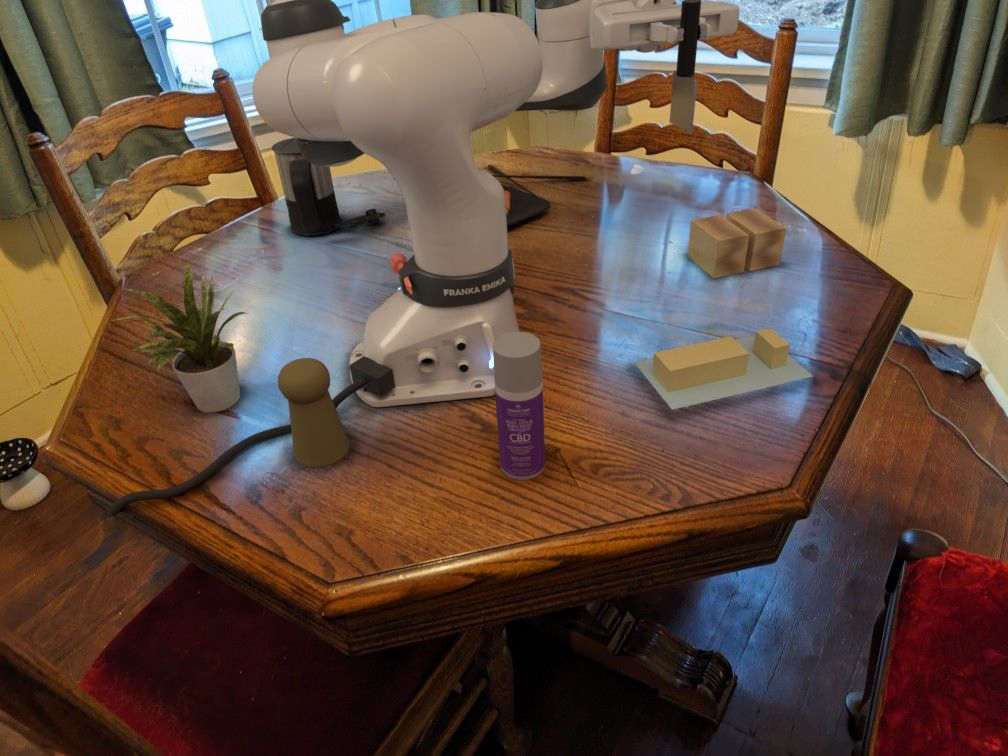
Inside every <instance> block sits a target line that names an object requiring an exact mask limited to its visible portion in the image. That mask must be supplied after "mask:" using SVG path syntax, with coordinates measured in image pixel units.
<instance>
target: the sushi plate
mask: <svg viewBox="0 0 1008 756" xmlns="http://www.w3.org/2000/svg"><path fill="white" fill-rule="evenodd" d="M487 168H488V169H489V170H491V171H493V172H494V173H495V174H491V175H492V176H494V177H495V178H504V179H506V180H507V181H508V182H510V183H513V184H514V185H516V186H517V187H519V188H521V189H522V190H520V189H517V188H514V187H512V186H510V185H506V184H503V183H500V184H501V185H502V187H503V189H504V192H505V200H506V219H507V227H511V226H513V225H517V224H518V223H521V222H523V221H526V220H529V219H530V218H533V217H535V216H537V215H539V214H542V213H544V212H546V211H547V210H549V209H550V208H551V207H552V203H551V202H550V201H549V200H547V199H545V198H543V197H541V196H538V195H537V194H536V193H534V192H532V191H531V190H529V189H528V188H526V187H524V186H523V185H521V184H520V183H519V182H517V181H515V180H514V179H541V180H567V181H568V180H569V181H570V180H571V181H585V180H586V176H585V175H584V176H583V175H516V174H512V175H511V174H506V173H503V172H502V171H501V170H499V169H498V168H497V167H495V166H493V165H492V164H488V165H487ZM513 178H514V179H513ZM523 190H524V191H523Z"/></svg>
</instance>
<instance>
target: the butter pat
mask: <svg viewBox="0 0 1008 756" xmlns="http://www.w3.org/2000/svg"><path fill="white" fill-rule="evenodd" d="M754 336H755V339H754V345H753V351H752V352H753V353H754V354H755V355H756V356H758V357H759V358H760V359H761V360H762V361H763V362H764V363H765V364H766V365H767V366H768V367H769V368H770V369H773V368H778V367H782V366H786V361H787V357H788V354H789V352H790V347H791V344H790V343H788V341H787V340H785V339H784V338H783V337H782V336H781V335H779V334H778V333H777V332H776V331H775V330H773V329H772V328H771V327H768V328H763V329H759V330H756V331H755V333H754Z"/></svg>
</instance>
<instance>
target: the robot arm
mask: <svg viewBox="0 0 1008 756" xmlns="http://www.w3.org/2000/svg"><path fill="white" fill-rule="evenodd" d="M681 7H682V2H681V3H678V2H677V0H536V1H535V4H534V9H535V18H536V19H535V20H536V21H535V22H536V31H537V36H536V34H535V33H534V31H533V29H532V28H531V27H530V26H529V25H528V23H526V22H525V21H524V20H523V19H521V18H520V17H518V16H516V15H514V14H510V13H503V12H491V11H490V12H489V11H475V12H467V13H462V14H457V15H452V16H446V17H442V18H437V17H435V16H432V15H430V14H429V15H428V14H410V15H403V16H398V17H393V18H389V19H383V20H380V21H377V22H373V23H370V24H367V25H365V26H362V27H358V28H356V29H354V30H352V31H348V32H345V27H344V24H345V23H349V22H351V18H350V17H349V16H348V15H346V16H344V15H343V13H342V12H341V10H340V8H339V7H338V5H337V4H336V3H335V2H334V1H333V0H273V1H272V2H271V4H269V5H266V6H265V8H264V9H263V11H262V12H261V14H260V24H261V33H262V38H263V41H264V42H266V47H267V52H268V57H269V58H268V59H267V60H266V61H264V62H263V63H262V64H261V65H260V67H258V69H257V71H256V73H255V76H254V78H253V82H252V88H251V89H252V99H253V104H254V107H255V109H256V111H257V113H258V115H259V116H260V118H261V119H262V120H263V122H264V123H265V124H266V125H267V126H268V127H270V128H271V129H272V130H274V131H276V132H277V133H280V134H283V135H285V136H288V137H291V138H296V139H295V140H294V142H295V144H296V146H297V147H298V149H299V151H300V152H301V154H302V156H303V157H304V158H305V159H306V160H307V161H309V162H310V163H312V164H314V165H316V166H328V167H330V168H331V167H334V168H336V167H341V166H346V165H347V164H350V163H353V162H354V161H355V160H357V159H358V158H359V157H361V156H363V155H367V156H369V157H370V158H372V159H374V160H377V161H378V162H379V163H381V165H383V166H384V167H385V168H386V169H387V171H388V173H390V175H391V176H392V178H393V179H394V181H395V183H396V185H397V187H398V189H399V191H400V193H401V196H402V199H403V202H404V206H405V210H406V214H407V215H406V216H407V221H408V226H409V227H408V228H409V233H410V238H411V239H410V240H411V244H412V251H413V255H412V256H411V257H410V258H409V259H407V257H406V256H404V254H402V253H395V254H393V255H392V256H391V258H390V259H389V261H390V262H389V264H390V266H391V268H392V271H393V272H394V273H395V274H396V275H398V277H399V278H398V279H399V286H400V287H397V291H396V292H394V294H392V295H391V296H390V297H389V298H387V300H385V302H382V304H380V306H378V307H377V308H376V309H375V310H373V311H372V312H371V313H370V314H369V316H368V317H367V320H366V323H365V328H364V333H363V341H362V342H360V343H358V344H357V345H356V346H355V347H354V349H353V350H352V352H351V354H350V357H349V365H348V366H349V375H350V382H351V384H350V385H348V386H346V387H345V388H344V389H343V390H342V391H340V392H339V393H338V394H336V395H335V396H334V398H332V401H333V403H334V406H335V408H336V409H338V407H339V406H340V404H342V403H343V402H344V401H345V400H346V399H347V398H348V397H350V396H352V395H353V394H354V393H356V395H357V396H358V397H359V399H360V400H361V401H362V402H364V403H365V404H367V405H368V406H370V407H372V408H385V407H395V406H405V405H413V404H414V405H416V404H425V403H437V402H445V401H447V402H448V401H457V400H464V399H465V400H466V399H476V398H485V397H493V396H495V383H494V360H493V343H494V341H495V340H496V339H497V338H498V337H499V336H501V335H503V334H506V333H510V332H521V330H520V326H519V322H518V317H517V313H516V308H515V303H514V294H515V284H516V281H515V280H516V278H515V263H514V258H513V252H512V250H511V249H510V247H509V238H508V226H507V219H506V200H505V192H504V189H503V187H502V185H501V184H502V183H501V182H500V181H499V180H498V179H497V177H494V176H492V175H493V174H491V173H489V172H488V171H486V170H485V169H483V168H480V167H478V166H477V163H476V161H475V158H474V154H473V152H472V147H471V137H472V133H473V132H475V131H478V130H480V129H482V128H485V127H487V126H490V125H492V124H495V123H496V122H499V121H501V120H503V119H506V118H507V117H508V116H510V115H511V114H513V113H514V112H526V111H527V112H528V111H529V112H530V111H568V112H577V111H579V112H580V111H585V110H589V109H591V108H593V107H594V106H596V104H597V103H598V102H599V101H600V100H601V98H602V97H603V95H604V94H605V92H606V90H607V88H608V86H609V82H608V76H607V69H606V63H605V61H604V51H613V50H626V51H630V52H632V51H635V52H638V53H643V54H647V53H652V52H655V51H657V50H660V49H661V48H662V47H663V46H665V45H666V44H667V43H670V44H677V43H678V44H679V42H683V39H684V37H683V34H684V28H683V27H680V19H681ZM739 21H740V7H739V6H738V5H737V4H733V3H728V2H723V1H717V0H701V9H700V20H699V31H698V41H703V40H708V39H710V38H715V37H725V36H731V35H734V34H735V33H736V32H737V30H738V26H739ZM290 433H291V434H292V431H291V423H290V424H286V425H281V426H278V427H273V428H269V429H267V430H262V431H260V432H257V433H255V434H253V435H250V436H248V437H246V438H244V439H242V440H240V441H239V442H237V443H236V444H233V446H231V447H230V448H229V449H227V450H225V452H224V453H222V454H221V455H219V456H218V457H217V458H216V459H215V460H214V461H212V463H210V464H209V465H208V466H206V467H205V468H204V469H203V470H202V471H200V472H199V473H197V474H196V475H194V476H193V477H191V478H189V479H188V480H186V481H184V482H182V483H179V484H177V485H175V486H172V487H168V488H161V489H152V490H151V489H150V490H149V489H148V490H142V491H141V490H140V491H134V492H130V493H127V494H124V495H123V496H122V497H119V498H118V499H117V500H116V501H115V502H114V503H112V505H111V507H110V508H109V510H108V511H107V513H106V516H107V517H108V518H111V517H115V516H117V515H118V514H119V513H120V512H121V510H122V509H123V508H125V507H127V506H128V505H130V504H132V503H136V502H142V501H151V500H152V501H153V500H163V499H169V498H173V497H177V496H180V495H182V494H184V493H186V492H188V491H191V490H192V489H194V488H195V487H197V486H199V485H200V484H202V483H204V482H205V481H206V480H207V479H209V478H210V477H211V476H213V475H214V474H215V473H216V472H217V471H219V470H220V469H221V468H223V466H224V465H225V464H227V463H228V462H229V461H230V460H231V459H233V458H234V457H235V456H237V455H239V454H240V453H241V452H243V451H244V450H245V449H247V448H249V447H251V446H253V445H255V444H257V443H260V442H262V441H264V440H267V439H271V438H276V437H278V436H283V435H286V434H290Z"/></svg>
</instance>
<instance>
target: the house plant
mask: <svg viewBox="0 0 1008 756" xmlns="http://www.w3.org/2000/svg"><path fill="white" fill-rule="evenodd" d="M182 274H183V275H182V281H183V283H182V284H183V305H184V311H185V313H184V311H182V310H181V309H180V308H178V306H176V305H174V304H172V303H170V302H168V301H166V300H164V299H163V297H162V296H159V295H157V294H155V293H152V292H144V291H142V290H138V289H134V288H124V290H126V291H129V292H132V293H135V294H138V295H140V296H141V297H142V298H144V299H146V300H147V301H148V302H150V303H151V304H152V305H153V306H154V307H155V308H156V309H157V310H158V311H159V312H160V313H162V314H163V315H164V316H166V317H167V319H168V320H169V321H171V323H168V322H166V321H164V320H162V319H159V318H157V317H153V316H150V315H146V314H139V313H138V314H130V315H125V316H120V317H118V318H114V319H112V320H111V322H114V321H120V320H125V319H133V320H130V321H127V322H126V324H129V323H132V322H140V323H143V324H145V325H148V326H149V327H151V328H152V329H153V330H155V331H152V332H150V333H148V334H147V335H146V336H145V337H144V339H143V341H147V340H150V339H154V338H159V337H160V338H164V339H163V340H157V341H151V342H147V343H144V344H142V345H140V346H138V347H135V348H132V349H131V350H130V352H137V353H136V354H137V355H138V354H142V353H146V352H153V353H152V354H151V356H149V359H148V362H147V367H148V366H149V364H151V363H152V362H154V361H156V360H158V361H157V372H159V371H160V369H162V368H163V367H164V366H165V365H166V364H168V363H169V362H170V361H171V360H172V359H173V360H172V363H171V366H172V369H173V371H174V373H175V374H176V376H177V377H178V379H179V381H180V382H181V384H182V385H183V387H184V389H185V390H186V392H187V393H188V395H189V397H190V398H191V400H192V401H193V403H194V405H195V406H196V408H197V409H198V410H199V411H201V412H204V413H217V412H222V411H225V410H227V409H229V408H231V407H233V406H234V405H236V404H237V403H238V402H239V401H240V399H241V387H240V380H239V371H238V364H237V363H238V361H237V355H236V349H235V347H234V343H233V342H226V341H223V340H221V338H220V335H221V332H222V330H223V329H224V328H225V326H226V325H227V324H228V323H229V322H230V321H232V320H233V319H235V318H237V317H239V316H240V315H248V314H249V315H250V313H248V312H245V311H238V312H235V313H233V314H232V315H230V316H229V317H228V318H226V320H225V321H223V323H222V324H221V326H220V328H219V329H218V331H217V333H216V334H214V333H215V329H216V325H217V321H218V318H219V315H220V313H221V312H222V311H225V310H226V309H225V308H224V306H225V305H226V304H227V303H226V302H227V301H228V299H229V298H230V296H231V295H232V294H233V293H234V291H232V292H231V293H230V294H228V296H227V297H226V298H225V300H224V302H223V304H222V305H221V307H220V309H218V310H217V311H215V312H214V313H213V305H214V299H215V294H214V293H215V290H214V289H215V288H214V279H213V277H211V278H210V283H209V288H208V292H207V282H206V278H205V275H204V273H202V275H201V283H200V292H201V293H200V295H201V296H200V297H201V299H200V309H198V306H197V303H196V299H195V291H194V281H193V280H194V277H195V276H196V274H197V271H195V272H193V274H192V272H191V269H190V264H189V261H186V263H185V265H184V268H183V273H182ZM250 316H251V315H250ZM134 318H145V319H151V320H155V321H157V322H160V323H158V324H157V323H154V322H152V321H149V320H144V319H134ZM162 326H164V327H166V328H168V329H170V330H172V331H174V332H176V333H177V334H178V335H180V336H181V337H179V336H177V335H175V334H174V333H171V332H170V331H168V330H166V329H165V328H164V327H162ZM180 349H182V350H180Z"/></svg>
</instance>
